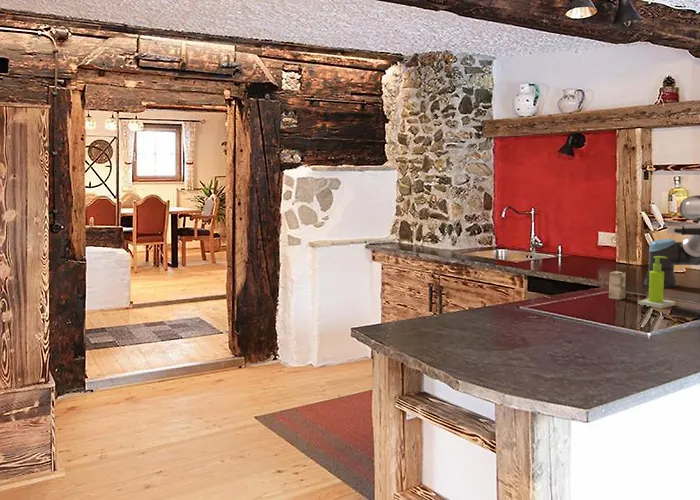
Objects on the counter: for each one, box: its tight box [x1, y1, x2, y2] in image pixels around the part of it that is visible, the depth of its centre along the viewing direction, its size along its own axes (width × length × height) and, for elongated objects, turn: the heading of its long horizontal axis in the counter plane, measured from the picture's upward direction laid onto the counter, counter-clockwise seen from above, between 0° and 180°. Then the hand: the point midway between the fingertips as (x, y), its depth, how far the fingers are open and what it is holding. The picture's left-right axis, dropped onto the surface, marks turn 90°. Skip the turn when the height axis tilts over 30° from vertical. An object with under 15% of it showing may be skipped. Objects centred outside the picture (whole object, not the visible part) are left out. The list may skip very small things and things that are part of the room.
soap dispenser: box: [647, 256, 667, 302], centre depth 292 cm, size 6×7×20 cm
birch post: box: [608, 270, 627, 301], centre depth 308 cm, size 5×5×12 cm
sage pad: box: [637, 298, 676, 309], centre depth 293 cm, size 11×11×2 cm
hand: (677, 228), depth 286 cm, fingers open, 13 cm apart
